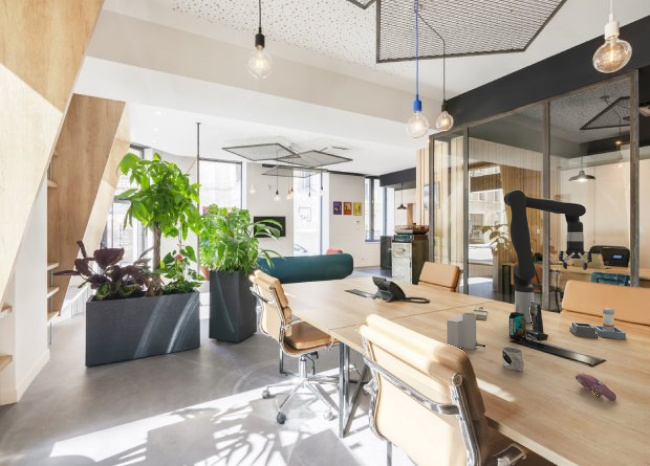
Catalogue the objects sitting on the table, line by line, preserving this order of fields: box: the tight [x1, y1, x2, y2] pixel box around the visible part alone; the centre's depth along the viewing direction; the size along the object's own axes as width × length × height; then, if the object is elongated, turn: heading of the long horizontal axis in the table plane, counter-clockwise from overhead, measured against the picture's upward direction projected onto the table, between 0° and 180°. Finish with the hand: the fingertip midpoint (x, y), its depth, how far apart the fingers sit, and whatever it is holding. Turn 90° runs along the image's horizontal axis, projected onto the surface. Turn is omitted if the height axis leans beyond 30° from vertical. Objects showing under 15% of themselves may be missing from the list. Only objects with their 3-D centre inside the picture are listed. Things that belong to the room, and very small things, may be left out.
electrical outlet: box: [473, 305, 489, 321], centre depth 195 cm, size 7×4×18 cm
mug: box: [502, 346, 525, 372], centre depth 121 cm, size 10×7×7 cm
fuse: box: [602, 307, 615, 332], centre depth 157 cm, size 4×4×12 cm
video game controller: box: [574, 372, 617, 401], centre depth 102 cm, size 10×5×7 cm, turn 7°
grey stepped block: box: [446, 312, 486, 350], centre depth 144 cm, size 12×14×15 cm
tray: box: [592, 325, 627, 340], centre depth 157 cm, size 10×10×3 cm
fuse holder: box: [569, 321, 599, 339], centre depth 159 cm, size 9×9×4 cm
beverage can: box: [508, 311, 527, 341], centre depth 154 cm, size 7×7×12 cm
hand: (575, 269), depth 176 cm, fingers open, 8 cm apart
